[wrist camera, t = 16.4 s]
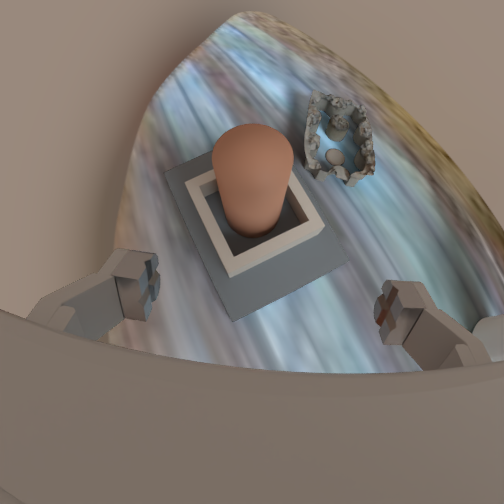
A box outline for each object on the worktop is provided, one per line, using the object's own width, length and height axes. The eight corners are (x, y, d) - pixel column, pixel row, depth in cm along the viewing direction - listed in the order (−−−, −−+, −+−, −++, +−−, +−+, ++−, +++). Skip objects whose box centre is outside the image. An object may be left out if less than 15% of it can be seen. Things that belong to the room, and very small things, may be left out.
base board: (233, 321, 26) (230, 321, 22) (167, 179, 29) (157, 160, 26) (344, 263, 28) (359, 254, 24) (268, 136, 31) (270, 113, 27)
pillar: (257, 249, 26) (260, 208, 17) (214, 216, 27) (195, 162, 17) (290, 207, 27) (309, 151, 17) (248, 178, 28) (246, 112, 18)
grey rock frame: (362, 194, 30) (377, 177, 26) (295, 178, 30) (302, 158, 26) (364, 120, 32) (375, 100, 28) (306, 105, 32) (312, 83, 28)
